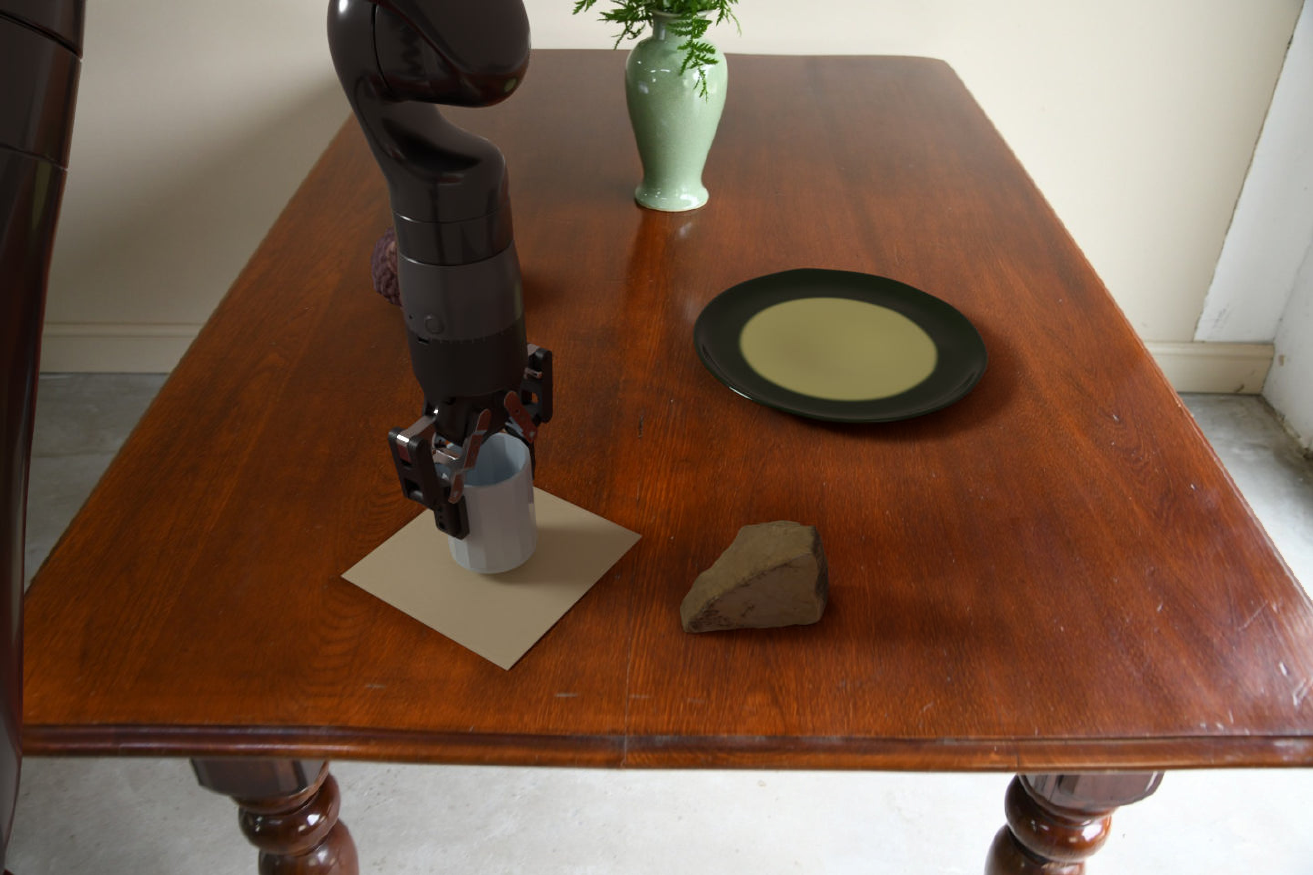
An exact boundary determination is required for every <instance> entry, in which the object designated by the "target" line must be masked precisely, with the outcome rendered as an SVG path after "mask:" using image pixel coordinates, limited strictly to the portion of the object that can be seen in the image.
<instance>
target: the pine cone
mask: <svg viewBox="0 0 1313 875" xmlns="http://www.w3.org/2000/svg"><path fill="white" fill-rule="evenodd" d="M370 265H371V269H370V270H371V275H372V276H371V277H372V282H373V289H374V291H375V292H377V293H378V294H379V295H381V296H382V297H384V298H385V299H386V301H387V302H388V303H390V304H391V305H396V307H398V308H399V309H400V310H401V312H402V313H403V309H402V303H401V297H400V291H399V284H398V270H397V246H396V239H395V233H394V227H393V226H390V227H387V229H386V230H385V232H384V234H383V235H382V236H381V237H379V238H378V239H377V240H376V243H375V244H374V246H373V251H372V253H371V257H370Z"/></svg>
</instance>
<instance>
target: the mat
mask: <svg viewBox="0 0 1313 875" xmlns="http://www.w3.org/2000/svg"><path fill="white" fill-rule="evenodd" d="M533 491H534V502H535V513H536V524H537V535H538V539H537V540H538V541H537V546H536V549H535V551H534V553H533V554H532V556H531V557H530V558H529V559H528V560H527V561H525V562H524V563H523V564H521V565H520V566H518V567H516V568H514V569H511V570H508V571H505V572H500V573H492V574H485V573H477V572H473V571H470V570H467V569H465V568H463V567H462V566H460V565H459V564H458V563H457V562H456V561H455V560H454V559H453V557H452V555H451V552H450V549H449V543H448V537H447V534H446V533H444V532H442V531H440V530H438V528H437V527H436V524H435V518H434V516H435V515H434V512H433V511H432V510H430V509H428V508H426V510H423V512H422V513H420V514H419V515H417V516H416V517H415V518H413V520H411V521H410V522H409V523H407V524H406V525H405V526H403V527H402V528H401V529H400V530H398V531H397V532H396V533H394V534H393V535H392V536H391V537H389V538H388V539H386V540H385V541H384V542H383V543H382V544H380V545H379V546H377V547H376V548H375V549H373V550H372V551H371V552H370V553H368V554H367V555H366V556H365V557H363V558H362V559H361V560H359V561H358V562H357V563H356V564H354V565H353V566H351V567H350V568H349V569H348V570H346V571H345V572H344V573H343V574H341V575H340V577H341V578H343V579H344V580H346V581H347V582H350V583H351V584H353V585H355V586H356V587H359V588H360V589H362V590H364V591H365V592H366V593H368V594H371V595H373V596H375V597H376V598H378V599H379V600H381V601H383V602H384V603H387V604H388V605H390V606H392V607H394V608H395V609H397V610H399V611H401V612H402V613H405V614H406V615H408V616H409V617H411V618H413V619H415V620H417V621H418V622H420V623H422V624H423V625H425V626H426V627H429V628H431V629H433V630H434V631H436V632H438V633H440V634H441V635H443V636H445V637H447V638H448V639H449V640H452V641H454V642H456V643H457V644H459V645H461V646H463V647H464V648H465V649H468V650H470V651H471V652H473V653H474V654H477V655H479V656H480V657H482V658H484V659H486V660H487V661H489V662H491V663H492V664H494V665H496V666H498V667H500V668H502V669H503V670H505V671H506V672H507V671H509V670H510V669H511V668H512V667H513V666H514V665H515V664H516V663H517V662H518V661H519V660H520V659H521V658H522V657H524V655H525V654H526V653H527V652H528V651H529V650H530V649H531V648H532V647H533V646H535V644H537V643H538V641H539V640H540V639H541V638H542V637H543V636H544V635H546V634H547V632H548V631H550V629H551V628H552V627H553V626H554V625H556V623H558V621H559V620H561V619H562V617H563V616H564V615H565V614H566V613H567V612H568V611H569V610H570V609H571V608H572V607H573V606H574V605H576V603H577V602H578V601H580V599H581V598H582V597H583V596H584V595H585V594H586V593H587V592H589V591H590V589H592V587H593V586H595V584H596V583H597V582H599V580H600V579H601V578H602V577H603V576H604V575H605V574H606V573H607V572H608V571H609V570H611V569H612V568H613V566H614V565H615V564H617V562H618V561H619V560H621V558H622V557H623V556H625V554H626V553H627V552H628V551H630V550H631V549H632V547H633V546H635V545H636V544H637V543H638V541H639V540H641V539H642V537H643V535H642V534H639V533H637V532H635V531H633V530H630V529H629V528H626V527H624V526H623V525H622V526H621V525H619V524H617V523H615V522H613V521H611V520H608V519H606V518H604V517H602V516H600V515H597V514H595V513H593V512H591V511H589V510H587V509H584V508H582V507H580V506H578V505H575V504H573V503H571V502H569V501H567V500H564V499H562V498H560V497H558V496H555V495H554V494H551V493H549V492H547V491H545V490H542V489H540V488H538V487H536V486H534V485H533Z"/></svg>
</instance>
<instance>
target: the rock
mask: <svg viewBox="0 0 1313 875" xmlns="http://www.w3.org/2000/svg"><path fill="white" fill-rule="evenodd" d="M828 560H829V559H828V558H827V555H826V550H825V547H824V541H823V538H822V537H821V533H820V532H819V531H818V529H817V525H815V524H814V525H807V526H806V525H803V524H802V523H800V522H798V521H791V520H785V519H783V520H776V521H770V522H761V523H759V524H752V525H750V524H746V525H743V526H742V527H741V528H740V529H739V530H738V532H737V535H736V537H735V538H734V540H733V541H732V543H731V544H730V545H729V547H727V549H726V550H724V551H723V552H722V553H721V554H720V556H719V558H718V559H716V560H715V561H714V563H713V564H712V566H711V567H710V568H709V569H707V570H703V571H702V572H701V573H700V574H698V576H697V577H696V579H695V580H694V582H693V584H692V587H691V588H690V590H689V592H688V593H687V594H686V595H685V596H684V597H683V599H682V602H681V605H680V606H679V612H680V619H681V626H682V628H683V631H684V632H685V633H693V634H694V633H695V634H696V633H705V632H714V631H728V630H737V629H749V628H756V629H767V628H782V627H786V626H793V625H801V626H805V625H806V626H807V625H812V624H815V623H818V622H819V621H820V619H821V618H822V616H823V614H824V611H825V608H826V605H827V603H828V597H829V586H830V582H829V581H830V580H829V579H830V578H829V576H830V575H829V562H828Z"/></svg>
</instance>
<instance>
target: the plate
mask: <svg viewBox="0 0 1313 875" xmlns="http://www.w3.org/2000/svg"><path fill="white" fill-rule="evenodd" d="M692 343H693V347H694V350H695V352H696V355H697V357H698V359H699V361H700V362H701V364H702V365H703V366H704V368H705V369H706V370H707V371H708V372H709V373H710V374H711V375H712V377H714V378H715V379H716V380H717V381H719V382H720V383H721V384H722V385H723V386H725V387H726V388H727V389H729V390H731V391H733V392H734V393H735V394H738V395H739V396H741V397H743V398H744V399H747V400H749V401H751V402H753V403H756V404H758V405H761V406H764V407H767V408H769V409H772V410H776V411H780V412H784V413H787V414H791V415H794V416H799V417H802V418H806V419H811V420H816V421H822V422H827V423H836V424H853V425H854V424H855V425H856V424H857V425H859V424H861V425H865V424H866V425H867V424H883V423H884V424H886V423H893V422H901V421H908V420H911V419H917V418H920V417H924V416H927V415H931V414H933V413H936V412H939V411H942V410H944V409H947V408H949V407H951V406H952V405H954V404H957V403H958V402H960V401H961V400H963V399H965V397H966V396H968V395H969V394H970V393H971V392H972V391H973V390H974V389H975V388H976V387H977V385H978V384H979V383H980V382H981V380H982V378H983V377H984V375H985V373H986V370H987V368H988V365H989V352H988V349H987V346H986V343H985V341H984V339H983V336H982V335H981V333H980V331H979V330H978V328H977V327H976V325H975V324H973V322H972V321H971V320H970V319H969V317H968V316H966V315H965V314H964V313H963V312H962V311H960V310H959V309H958V308H956V307H955V306H954V305H952V304H950V303H949V302H947V301H945V300H943V299H941V298H939V297H937V296H936V295H933V294H930V293H928V292H926V291H924V290H921V289H919V288H917V287H915V286H912V285H910V284H907V283H905V282H902V281H899V280H896V279H893V278H890V277H886V276H880V275H877V274H872V273H866V272H861V271H854V270H853V271H852V270H844V269H843V270H842V269H841V270H840V269H831V268H817V267H800V268H792V269H787V270H782V271H777V272H773V273H768V274H764V275H759V276H757V277H753V278H750V279H747V280H744V281H741V282H739V283H737V284H735V285H731V286H730V287H728V288H727V289H724V290H723V291H721V292H720V293H718V294H717V295H716V296H714V298H712V299H711V300H710V301H709V302H708V303H707V304H705V306H704V308H703V309H702V310H701V311H700V312H699V314H698V316H697V318H696V320H695V322H694V325H693V330H692Z"/></svg>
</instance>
